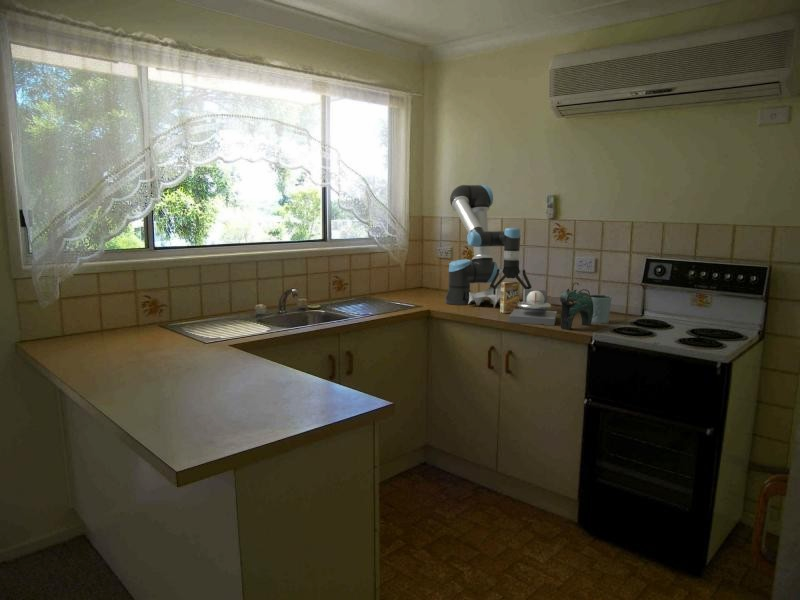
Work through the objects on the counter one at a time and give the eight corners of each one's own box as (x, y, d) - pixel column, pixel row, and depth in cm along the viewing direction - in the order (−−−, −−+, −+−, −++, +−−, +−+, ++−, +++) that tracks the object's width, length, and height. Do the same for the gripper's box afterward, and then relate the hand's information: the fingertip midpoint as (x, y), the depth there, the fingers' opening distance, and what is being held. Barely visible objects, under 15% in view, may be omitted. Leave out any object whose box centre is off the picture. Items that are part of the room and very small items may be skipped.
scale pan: (515, 310, 265) (515, 305, 264) (519, 305, 279) (519, 300, 279) (549, 312, 260) (549, 307, 260) (551, 306, 275) (551, 302, 274)
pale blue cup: (613, 321, 268) (615, 296, 266) (604, 324, 260) (606, 298, 259) (592, 318, 275) (594, 293, 273) (583, 321, 267) (584, 296, 265)
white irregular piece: (500, 309, 299) (501, 291, 298) (464, 307, 307) (465, 288, 305) (510, 302, 322) (511, 285, 321) (477, 300, 329) (477, 283, 328)
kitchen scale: (508, 322, 264) (509, 294, 262) (514, 314, 283) (515, 288, 281) (554, 325, 258) (555, 296, 256) (556, 317, 277) (557, 290, 275)
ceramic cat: (566, 331, 247) (569, 284, 244) (554, 328, 252) (556, 282, 249) (595, 325, 259) (598, 281, 255) (583, 323, 264) (585, 279, 261)
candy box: (503, 313, 286) (504, 282, 284) (499, 312, 290) (500, 281, 288) (519, 312, 289) (520, 282, 286) (515, 311, 293) (516, 281, 290)
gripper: (485, 259, 286) (483, 301, 289) (536, 260, 278) (535, 304, 281) (487, 258, 293) (486, 299, 296) (538, 259, 285) (536, 302, 288)
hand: (510, 302), depth 288 cm, fingers open, 13 cm apart
